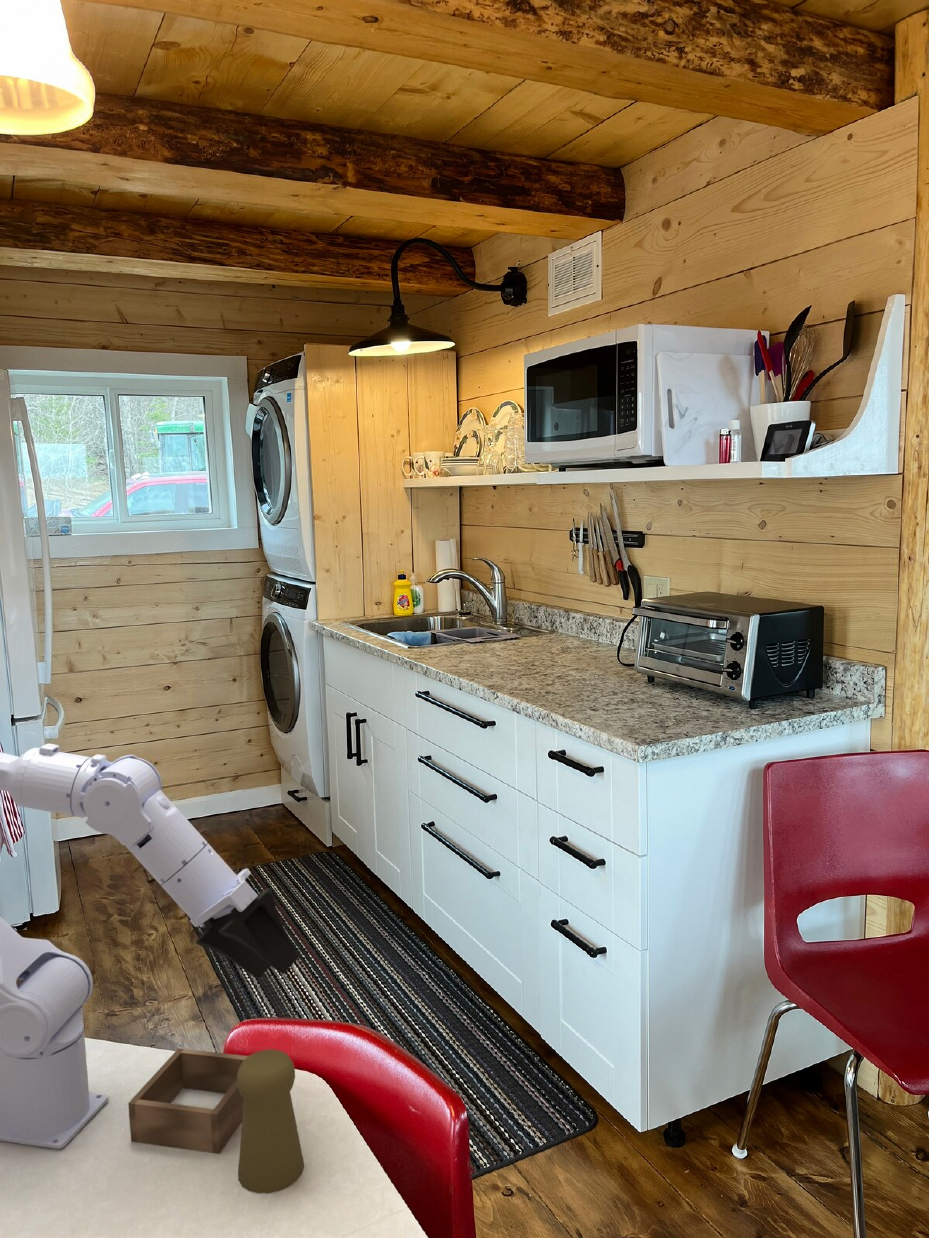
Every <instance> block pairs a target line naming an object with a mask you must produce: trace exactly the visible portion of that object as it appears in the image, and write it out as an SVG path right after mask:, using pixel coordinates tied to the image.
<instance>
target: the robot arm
mask: <svg viewBox="0 0 929 1238" xmlns="http://www.w3.org/2000/svg"><path fill="white" fill-rule="evenodd" d="M107 757H108V756H106V755H104V754H95V755H94V756H92V757H91V756H85V755H80V754H76V753H75V754H74V753H70V752H69V753H68V752H63V751H60V745H59V744H54V743H46V744H44V745H42V746H40V747H32V748H31V749H28V750H27V751H25V752H24V753H23V754H22V755H20V756H17V755H13V754H8V753H5V752H1V751H0V791H4V792H8V793H9V796H10V797H11V799H12V800H13V802H14V803H15V805H17V806H19V807H22V808H27V809H34V810H39V811H43V812H49V813H50V812H51V813H55V814H60V815H65V816H66V815H67V816H71V817H76V818H82V819H83V818H87V819H86V820H85V823H86V825H87V826H89V828H91V829H92V830H93V831H96V832H99V833H101V834H105V835H109V836H111V837H114V838H116V840H117V841H118V842H119V843H120V844H121V845H122V846H125V848H127V850H129V852H130V854H132V855H133V856H134V857H135V859H136V860H137V861H138V863H140V864H141V866H143V867H144V869H146V871H147V872H148V873H149V874H150V875H151V876H152V878H153V879H154V880H155V881H156V882H157V883H158V884H159V885H160V886H161V887H162V889H163V890H164V891H165V892H166V893H167V895H169V897H171V899H172V900H173V901H174V902H175V903H176V904H177V905H178V906H179V908H180V909H182V910H181V911H183V912H184V913H185V914H186V915H187V916H188V917H189V919H190V920H189V921H190V923H191V924H192V926H193V927H195V928H197V927H200V928H203V927H204V930H205V931H204V932H203V933H202V934H201V935H199V937H198V938H196V940H195V944H196V945H198V946H200V947H204V948H207V949H208V950H209V949H210V950H211V951H214V952H216V953H217V954H220V955H221V956H223V957H225V958H227V959H228V960H230V961H231V962H232V963H234V964H236V966H238V967H239V968H241V969H243V971H245V972H246V973H247V974H249V975H251V976H252V977H254V978H255V979H260V978H261V977H262V976H263V975H264V973H265V972H267V970H268V969H270V968H273V969H274V970H276V971H277V972H278V973H280V974H285V973H286V972H287V971H288V970H289V969H290V968H291V967H293V964H294V963H296V961H297V960H298V959H299V958H300V955H299V953H298V950H297V949H296V947H295V945H294V944H293V941H292V940H291V938H290V936H289V934H288V932H287V931H286V929H285V927H284V924H283V923H282V921H281V918H280V916H279V912H278V910H277V906H276V902H275V897H274V893H273V891H272V889H271V888H270V887H268V888H265V889H263V890H262V891H261V892H260V893H259V894H258V893H256V891H255V890H254V889H253V888H252V887H251V886H250V884H249V883H248V882H247V881H246V880H247V879H248V877H250V875H251V874H252V873H251V871H250V870H249V869H248V868H244V869H242V870H241V871H240V872H239V873H238V874H236V873H235V872H234V871H233V870H232V868H231V867H230V866H229V865H228V864H227V863H226V861H224V860H223V858H222V857H221V856H220V855H219V854H218V852H216V850H215V849H214V848H213V847H212V846H211V845H210V844H209V843H208V841H207V839H205V838H204V837H203V836H202V834H201V833H200V832H199V831H198V830H197V829H196V827H194V826H193V824H192V823H191V822H190V821H189V820H188V819H187V818H186V816H184V814H183V813H182V812H181V811H180V809H179V808H178V807H176V806H175V804H173V802H172V801H171V800H170V798H168V797H167V796H166V794H165V793H164V792H163V790H162V788H163V783H162V782H163V781H162V778H161V775H160V773H159V771H158V770H157V768H156V767H155V765H153V764H152V763H151V762H149V761H148V760H146V759H144V758H140V757H137V756H136V755H134V754H127V755H124V756H120V757H119V758H117V759H115V760H114V761H109V760H108V758H107ZM20 980H21V981H20ZM17 981H20V982H19V983H18V984H17ZM93 987H94V980H93V976H92V973H91V970H90V968H89V966H88V965H87V964H86V963H85V962H84V961H83V960H82V959H81V958H79V957H78V956H76V955H74V954H70V953H67V952H64V951H62V950H60V948H58V947H56V946H55V945H54V944H53V943H52V942H51V941H50V940H48V939H43V938H42V939H41V938H31V937H30V938H29V937H23V936H22V935H21V934H20V933H18V932H17V931H16V930H15V929H14V928H13V927H12V926H11V924H9V923H8V922H7V921H6V920H5V919H3V917H2V916H0V1141H2V1142H8V1143H16V1144H23V1145H29V1146H34V1147H35V1146H36V1147H43V1148H50V1149H56V1150H58V1149H59V1150H60V1149H62V1148H64V1147H66V1145H67V1144H68V1143H69V1142H70V1141H71V1140H72V1139H73V1138H74V1137H75V1136H76V1135H77V1134H78V1133H79V1132H80V1131H81V1129H83V1127H84V1126H85V1125H87V1123H88V1122H89V1121H90V1120H91V1119H92V1118H93V1117H94V1116H95V1115H96V1114H97V1113H98V1112H99V1111H100V1109H101V1108H102V1107H103V1106H104V1105H106V1103H108V1101H109V1095H107V1094H104V1093H103V1094H102V1093H98V1092H97V1093H96V1092H90V1089H89V1075H88V1065H87V1064H88V1063H87V1050H86V1040H85V1039H86V1037H85V1026H84V1023H85V1022H84V1019H83V1018H84V1010H83V1009H84V1008H83V1005H84V1004H86V1002H87V1001H88V1000H89V998H90V997H91V995H92V991H93Z"/></svg>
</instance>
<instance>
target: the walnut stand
mask: <svg viewBox="0 0 929 1238" xmlns="http://www.w3.org/2000/svg"><path fill="white" fill-rule="evenodd" d="M248 1056H249V1055H241V1054H232V1053H223V1052H222V1053H221V1052H216V1051H215V1052H213V1051H206V1050H205V1051H204V1050H196V1049H189V1048H188V1049H187V1048H180V1047H179V1048H177V1049H176V1050H175V1052H173V1054H172V1055H171V1056H170V1057H169V1058H168V1059H167V1060H166V1061H165V1062H164V1063H163V1064H162V1066H160V1068H159V1069H158V1070H157V1071H156V1072H155V1073H154V1074H153V1075H152V1077H151V1078H149V1080H147V1082H146V1083H145V1084H144V1085H143V1086H142V1087H141V1089H140V1090H139V1091H137V1093H136V1094H135V1095H134V1096H133V1097H132V1098H131V1099H130V1101H129V1102H128V1103H127V1105H128V1117H129V1131H130V1141H131V1142H134V1143H142V1144H147V1145H156V1146H160V1147H161V1146H162V1147H167V1148H168V1147H169V1148H177V1149H184V1150H185V1149H186V1150H189V1151H190V1150H192V1151H197V1152H206V1153H213V1154H220V1153H221V1152H222V1151H223V1149H224V1148H225V1146H226V1145H227V1144H228V1143H229V1141H230V1140H231V1138H232V1137H233V1135H234V1134H235V1133H236V1131H237V1129H238V1128H239V1127H240V1126H241V1125H242V1119H243V1107H244V1098H243V1097H242V1096H241V1094H240V1092H239V1090H238V1084H237V1074H238V1070H239V1068H240V1066H241V1064H242V1062H243V1061H244V1060H245V1059H246V1058H247V1057H248ZM183 1089H189V1090H195V1091H202V1092H203V1091H204V1092H213V1093H219V1094H220V1093H221V1094H224V1095H223V1097H222V1098H221V1099H220V1100H219V1102H217V1104H216V1106H214V1108H209V1107H202V1106H201V1107H200V1106H194V1105H185V1104H177V1103H172V1102H173V1101H174V1100H175V1098H176V1097H177V1096H178V1095H179V1094H180V1093H181V1092H182V1090H183Z"/></svg>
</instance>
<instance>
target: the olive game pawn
mask: <svg viewBox="0 0 929 1238" xmlns="http://www.w3.org/2000/svg"><path fill="white" fill-rule="evenodd" d="M247 1056H248V1057H247V1058H246V1059H245V1060H244V1061H243V1062H242V1064H241V1066H240V1068H239V1070H238V1074H237V1084H238V1090H239V1092H240V1094H241V1096H242V1097H243V1098H244V1107H243V1119H242V1123H241V1133H240V1145H239V1157H238V1170H237V1171H238V1172H237V1175H238V1176H237V1177H238V1182H239V1183H240V1185H241V1187H242V1188H243V1189H246V1190H247V1191H249V1192H252V1193H256V1194H272V1193H277V1192H280V1191H282V1190H284V1189H287V1188H290V1186H292V1185H293V1184H295V1183H296V1182H297V1181H298V1180H299V1178H300V1177H301V1176H302V1174H303V1172H304V1170H305V1163H304V1157H303V1152H302V1147H301V1141H300V1136H299V1129H298V1127H297V1126H298V1125H297V1120H296V1116H295V1111H294V1106H293V1098H292V1095H291V1090H292V1089H293V1087H294V1084H295V1079H296V1070H295V1064H294V1061H293V1060H292V1058H290V1056H289V1055H288V1054H287V1053H286V1052H284V1051H282V1050H278V1049H263V1050H262V1049H261V1050H259V1051H255V1052H253V1053H252V1054H250V1055H247Z"/></svg>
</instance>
